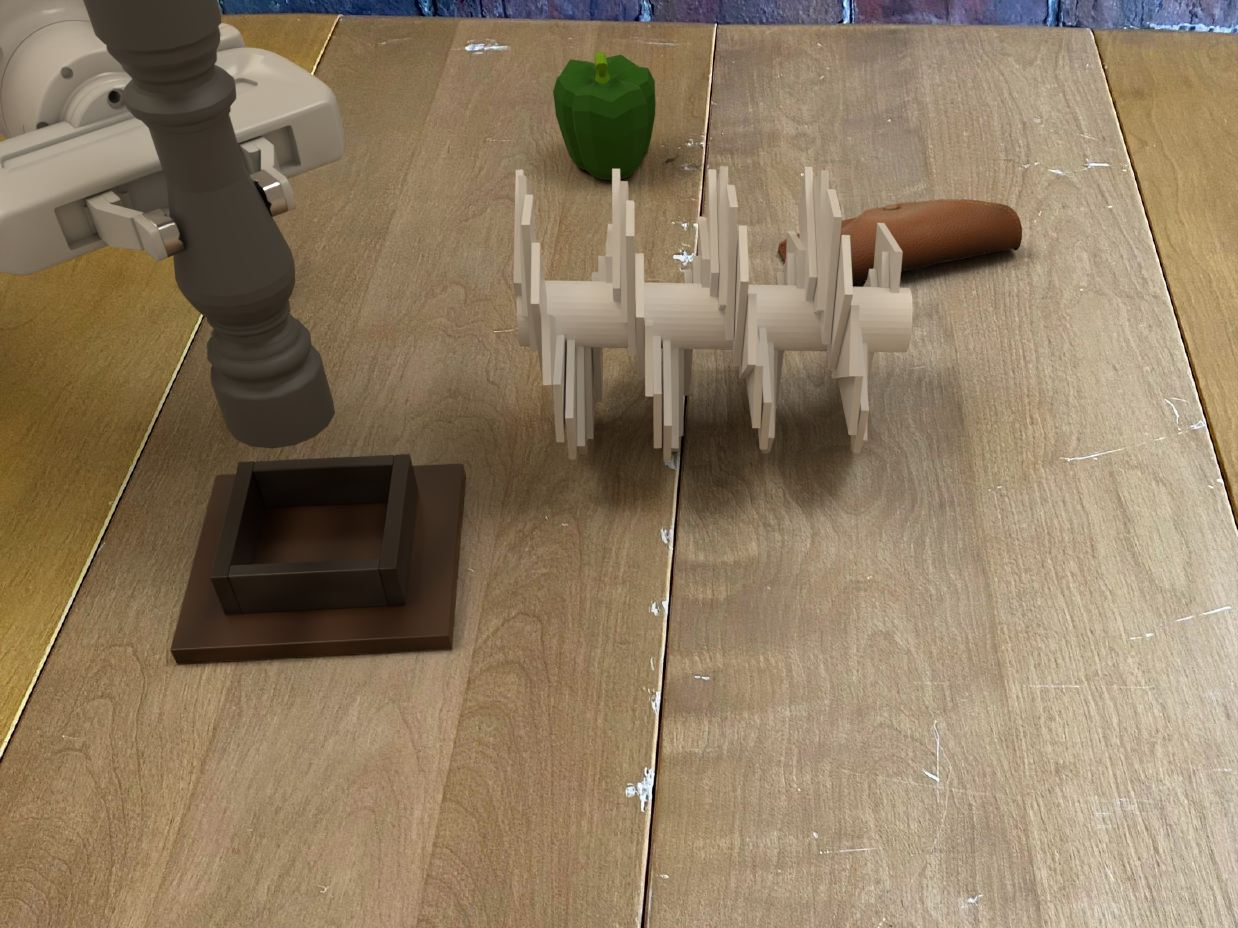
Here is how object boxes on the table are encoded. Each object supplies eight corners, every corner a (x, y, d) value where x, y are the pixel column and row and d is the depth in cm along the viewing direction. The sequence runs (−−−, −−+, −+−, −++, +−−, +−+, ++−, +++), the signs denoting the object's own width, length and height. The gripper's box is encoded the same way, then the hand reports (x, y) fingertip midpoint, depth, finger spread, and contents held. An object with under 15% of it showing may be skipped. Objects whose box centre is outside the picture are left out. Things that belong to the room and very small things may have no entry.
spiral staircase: (891, 507, 97) (528, 505, 95) (879, 283, 101) (532, 276, 99) (944, 372, 79) (500, 365, 77) (927, 107, 84) (506, 94, 82)
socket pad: (176, 664, 82) (152, 612, 78) (220, 488, 92) (201, 436, 89) (452, 649, 82) (440, 597, 79) (466, 477, 93) (455, 425, 89)
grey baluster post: (300, 458, 79) (155, -13, 60) (205, 435, 80) (33, -33, 61) (354, 395, 83) (234, -66, 63) (262, 375, 84) (118, -84, 65)
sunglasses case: (971, 201, 115) (1000, 152, 108) (1000, 277, 114) (1032, 233, 108) (769, 244, 110) (787, 196, 104) (798, 325, 110) (819, 281, 103)
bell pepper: (580, 136, 123) (569, 17, 115) (669, 149, 121) (664, 29, 114) (545, 182, 117) (531, 61, 110) (638, 197, 116) (630, 74, 108)
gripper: (-110, 125, 71) (2, 234, 64) (253, 13, 80) (383, 98, 73) (-55, 240, 76) (54, 352, 69) (281, 122, 85) (406, 211, 78)
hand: (226, 221), depth 71 cm, fingers closed on grey baluster post, 5 cm apart
